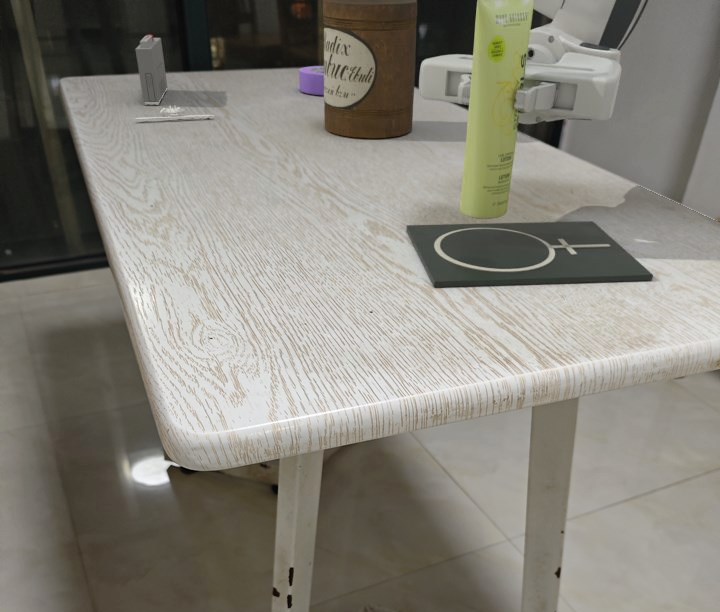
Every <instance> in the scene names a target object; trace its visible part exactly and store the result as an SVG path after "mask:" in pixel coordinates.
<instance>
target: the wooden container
mask: <svg viewBox="0 0 720 612" xmlns="http://www.w3.org/2000/svg"><path fill="white" fill-rule="evenodd" d="M322 15H323V16H322V18H323V24H324V25H323V66H324V95H323V102H324V107H323V108H324V109H323V113H324V114H323V115H324V128H325V130H326V131H327V132H328V133H329V132H330V133H331V134H334V135H337V136H340V137H347V138H357V139H358V138H359V139H390V138H395V137H400V136H404V135H406V134H409V133H410V132H411V131H412V130H413V119H414V118H413V117H414V114H413V113H414V99H415V98H414V97H415V81H416V80H415V79H416V52H417V51H416V49H417V47H416V46H417V23H418V21H417V19H418V18H417V17H418V0H322Z"/></svg>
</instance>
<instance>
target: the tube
mask: <svg viewBox="0 0 720 612" xmlns="http://www.w3.org/2000/svg"><path fill="white" fill-rule="evenodd" d="M533 6H534V0H477V1H476V11H475V12H476V13H475V21H474V22H475V23H474V39H473V51H472V55H473V63H472V75H471V88H470V100H469V105H468V111H467V126H466V137H465V146H464V157H463V158H464V159H463V171H462V179H461V189H460V203H459V211H460V212H461V214H462V215H465V216H466V217H470V218H473V219H476V220H490V219H491V220H492V219H497V218H500V217H503V216H504V215H506V214H507V212H508V207H509V205H508V204H509V197H510V191H511V190H510V189H511V182H512V174H513V173H512V172H513V169H514V168H513V167H514V159H515V153H516V152H515V151H516V145H517V144H516V143H517V136H518V128H519V123H518V122H519V114H520V111H516V110H514V103H515V102H516V99H515V96H516V92H517V90H518V89H520V88H521V87H523V83H524V76H525V68H526V60H527V52H528V44H529V37H530V30H532V29H531V27H532V22H533V14H534V9H533Z"/></svg>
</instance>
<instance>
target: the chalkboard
mask: <svg viewBox="0 0 720 612" xmlns="http://www.w3.org/2000/svg"><path fill="white" fill-rule="evenodd" d="M405 230H406V233H407V235H408V237H409V238H410V241H411V243H412V245H413V247H414V250H415V252H416V253H417V255H418V257H419V259H420V261H421V263H422V265H423V267H424V270H425V271H426V273H427V275H428V277H429V279H430V282H431V283H432V286H433V287H434V288H451V287H452V288H453V287H455V288H456V287H485V286H486V287H488V286H515V285H516V286H517V285H547V284H549V285H550V284H551V285H552V284H578V283H582V284H583V283H609V282H610V283H612V282H615V283H616V282H643V281H644V282H646V281H652V280H653V278H654V274H653V273H652V272H650V271H649V269H647V268H646V267H645V266H644V265H643V264H642V263H641V262H639V260H637V259H636V258H635V257H634V256H632V254H630V252H628V251H627V250H626V249H625V248H624V247H622V246H621V245H620V244H619V243H618V242H617V241H616V240H615V239H613V237H611V236H610V235H609V234H608V233H607V232H605V230H603V229H602V228H601V227H600V226H599V225H598V224H597V223H595V222H594V220H588V221H587V220H586V221H583V220H582V221H545V222H543V221H542V222H539V221H538V222H497V223H495V222H494V223H492V222H491V223H489V222H488V223H454V224H453V223H451V224H450V223H449V224H448V223H447V224H444V223H443V224H407V225H406V227H405Z"/></svg>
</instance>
